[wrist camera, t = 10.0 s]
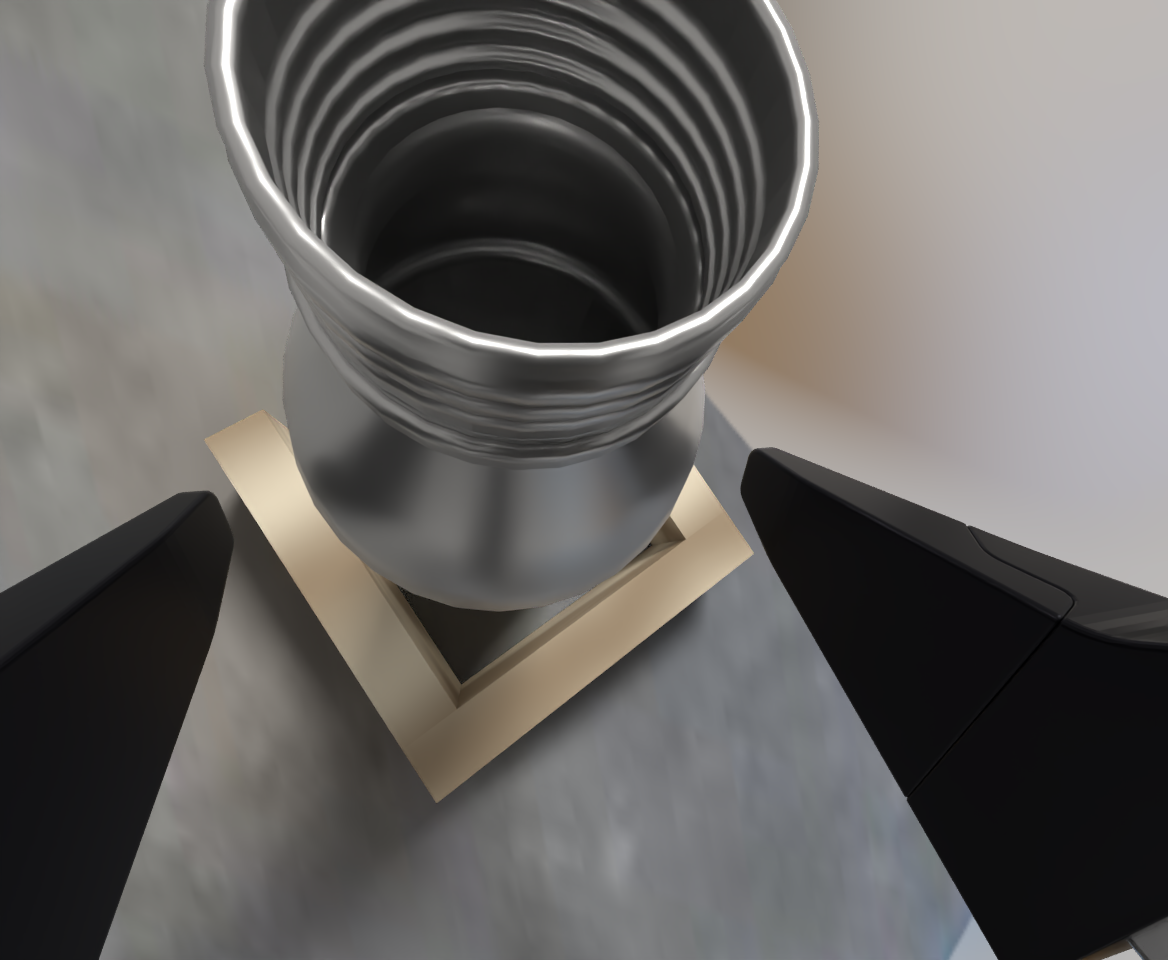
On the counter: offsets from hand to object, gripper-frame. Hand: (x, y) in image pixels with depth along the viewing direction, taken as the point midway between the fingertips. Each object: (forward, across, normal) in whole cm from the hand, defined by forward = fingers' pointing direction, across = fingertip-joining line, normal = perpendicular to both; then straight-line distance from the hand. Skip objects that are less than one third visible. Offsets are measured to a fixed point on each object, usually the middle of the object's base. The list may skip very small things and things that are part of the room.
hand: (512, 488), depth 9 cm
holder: (+10, 0, +9) cm, 14 cm away
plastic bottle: (+11, 0, +9) cm, 14 cm away
